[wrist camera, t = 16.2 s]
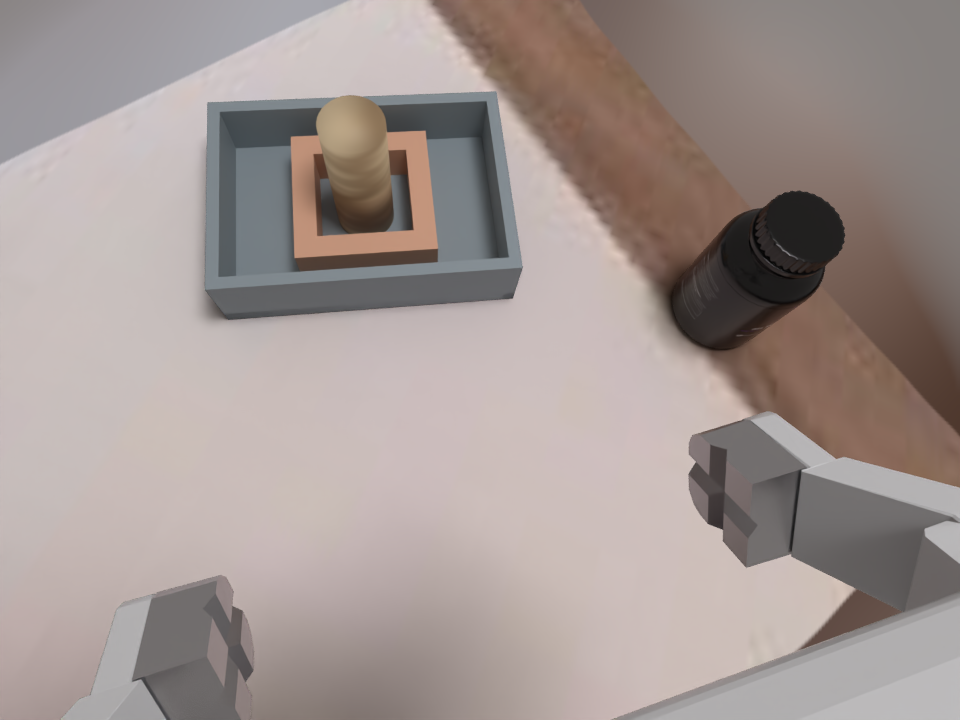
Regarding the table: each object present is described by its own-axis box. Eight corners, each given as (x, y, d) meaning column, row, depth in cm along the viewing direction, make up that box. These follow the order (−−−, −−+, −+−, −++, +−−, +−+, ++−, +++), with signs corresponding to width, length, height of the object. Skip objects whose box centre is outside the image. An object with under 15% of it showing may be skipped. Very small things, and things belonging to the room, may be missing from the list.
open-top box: (228, 319, 44) (204, 289, 40) (228, 147, 49) (207, 102, 44) (512, 298, 47) (522, 267, 42) (489, 136, 51) (496, 91, 46)
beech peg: (339, 240, 46) (317, 154, 36) (336, 191, 47) (314, 96, 38) (396, 236, 46) (388, 151, 37) (391, 188, 47) (383, 94, 38)
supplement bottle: (742, 367, 46) (846, 301, 35) (656, 326, 47) (730, 249, 36) (770, 290, 49) (875, 205, 37) (687, 252, 49) (766, 156, 38)
